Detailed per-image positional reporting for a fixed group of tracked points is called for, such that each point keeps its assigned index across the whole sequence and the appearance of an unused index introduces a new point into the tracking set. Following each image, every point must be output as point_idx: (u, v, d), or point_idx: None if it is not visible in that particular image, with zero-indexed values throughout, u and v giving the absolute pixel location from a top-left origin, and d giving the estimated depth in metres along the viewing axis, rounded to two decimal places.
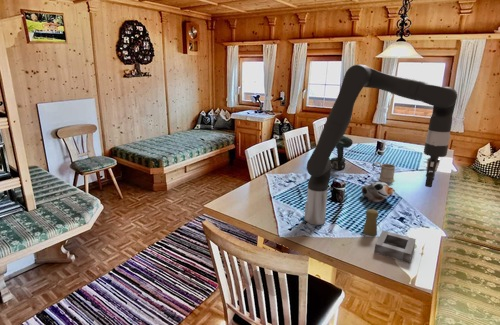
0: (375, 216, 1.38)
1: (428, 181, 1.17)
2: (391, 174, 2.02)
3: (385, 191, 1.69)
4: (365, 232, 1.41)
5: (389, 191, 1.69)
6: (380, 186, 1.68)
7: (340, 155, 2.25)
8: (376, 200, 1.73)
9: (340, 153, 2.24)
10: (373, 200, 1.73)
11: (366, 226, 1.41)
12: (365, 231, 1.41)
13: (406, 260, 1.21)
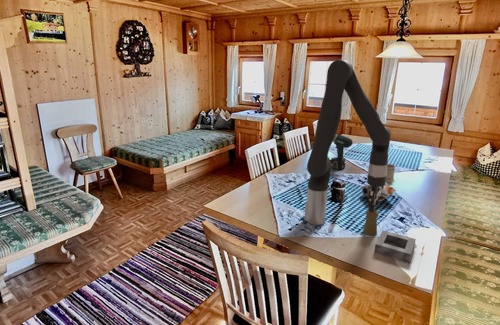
0: (375, 216, 1.38)
1: (370, 207, 1.34)
2: (391, 174, 2.02)
3: (385, 191, 1.69)
4: (365, 232, 1.41)
5: (390, 191, 1.70)
6: None
7: (340, 155, 2.25)
8: None
9: (340, 153, 2.24)
10: None
11: (366, 226, 1.41)
12: (365, 231, 1.41)
13: (406, 260, 1.21)
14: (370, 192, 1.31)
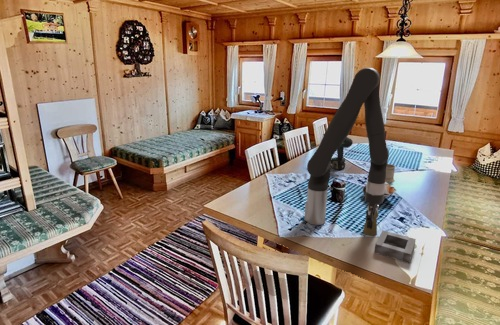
0: (375, 216, 1.38)
1: (368, 224, 1.39)
2: (391, 174, 2.02)
3: (386, 190, 1.69)
4: (365, 232, 1.41)
5: (390, 190, 1.70)
6: None
7: (340, 155, 2.25)
8: None
9: (340, 153, 2.24)
10: None
11: (366, 226, 1.41)
12: (365, 231, 1.41)
13: (406, 260, 1.21)
14: (367, 212, 1.34)
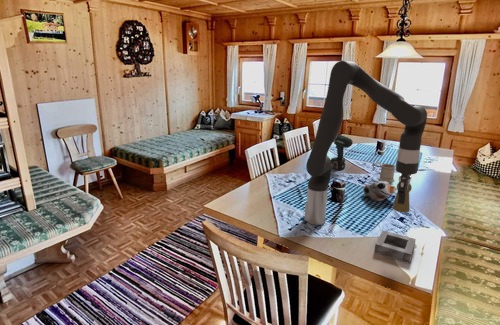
0: (408, 189, 1.19)
1: (400, 198, 1.20)
2: (391, 174, 2.02)
3: (387, 190, 1.70)
4: (396, 208, 1.23)
5: (391, 190, 1.71)
6: (383, 185, 1.70)
7: (340, 155, 2.25)
8: (378, 199, 1.74)
9: (340, 153, 2.24)
10: (375, 199, 1.75)
11: (397, 201, 1.22)
12: (396, 207, 1.23)
13: (406, 260, 1.21)
14: (400, 184, 1.16)
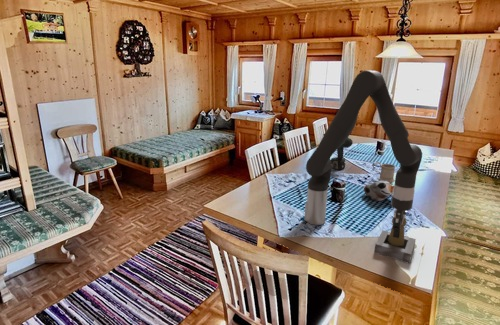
0: (403, 224, 1.23)
1: (395, 233, 1.24)
2: (391, 174, 2.02)
3: (388, 189, 1.71)
4: (391, 241, 1.27)
5: (392, 189, 1.71)
6: (383, 185, 1.70)
7: (340, 155, 2.25)
8: (379, 199, 1.75)
9: (340, 153, 2.24)
10: (376, 199, 1.75)
11: (392, 235, 1.26)
12: (391, 240, 1.27)
13: (406, 260, 1.21)
14: (395, 220, 1.20)
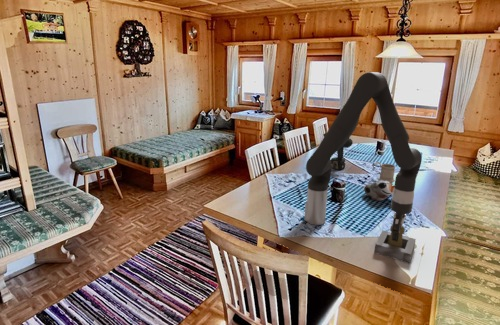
0: (401, 232, 1.24)
1: (394, 236, 1.23)
2: (391, 174, 2.02)
3: (388, 189, 1.71)
4: None
5: (392, 189, 1.72)
6: (384, 185, 1.70)
7: (340, 155, 2.25)
8: (380, 198, 1.75)
9: (340, 153, 2.24)
10: (377, 199, 1.75)
11: (390, 243, 1.27)
12: None
13: (406, 260, 1.21)
14: (395, 220, 1.19)
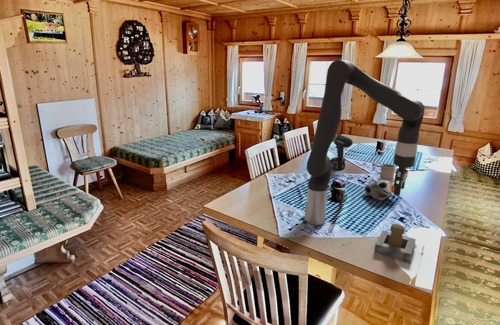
0: (401, 232, 1.24)
1: (396, 190, 1.22)
2: (391, 174, 2.02)
3: (389, 189, 1.71)
4: None
5: (393, 189, 1.72)
6: (385, 184, 1.71)
7: (340, 155, 2.25)
8: (380, 198, 1.75)
9: (340, 153, 2.24)
10: (377, 198, 1.76)
11: (390, 243, 1.27)
12: None
13: (406, 260, 1.21)
14: (397, 173, 1.19)
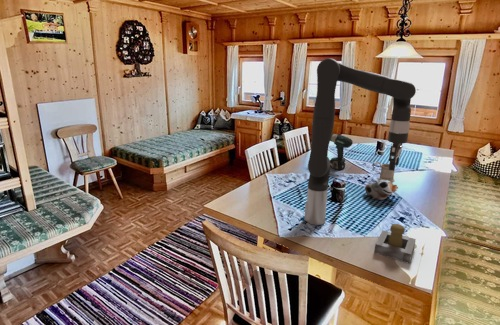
0: (401, 232, 1.24)
1: (391, 165, 1.32)
2: (391, 174, 2.02)
3: (390, 188, 1.72)
4: None
5: (393, 188, 1.73)
6: (385, 184, 1.71)
7: (340, 155, 2.25)
8: (381, 198, 1.76)
9: (340, 153, 2.24)
10: (378, 198, 1.76)
11: (390, 243, 1.27)
12: None
13: (406, 260, 1.21)
14: (392, 148, 1.29)
